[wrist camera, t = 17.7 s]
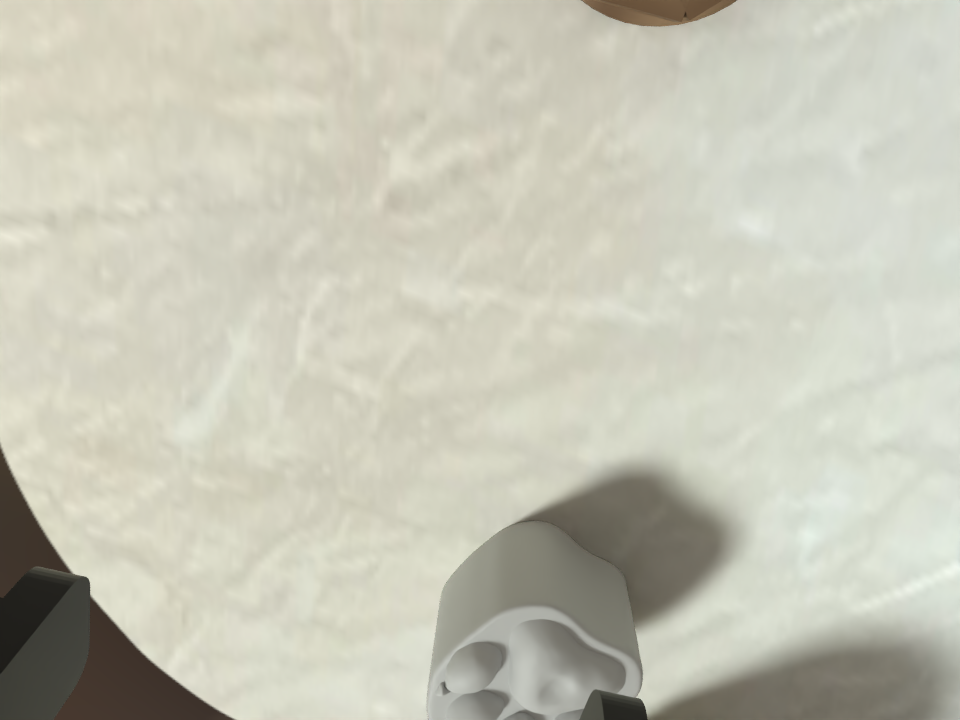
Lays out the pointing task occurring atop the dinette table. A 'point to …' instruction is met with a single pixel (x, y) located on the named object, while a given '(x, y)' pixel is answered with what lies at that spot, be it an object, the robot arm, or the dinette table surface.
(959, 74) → the dinette table surface
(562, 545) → the lumpy-topped squat cylinder
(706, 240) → the dinette table surface
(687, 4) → the ring dish
